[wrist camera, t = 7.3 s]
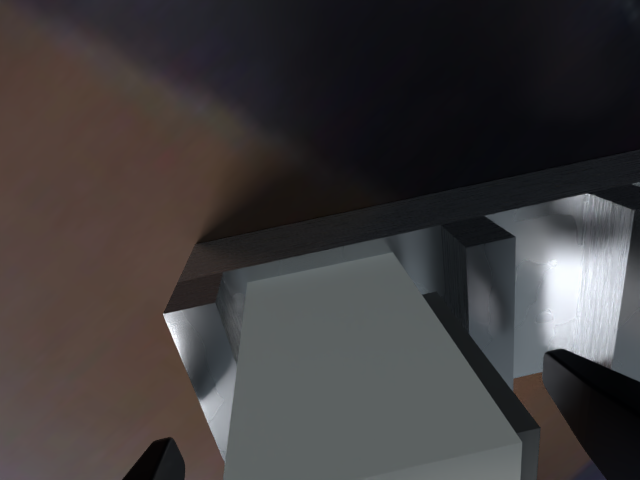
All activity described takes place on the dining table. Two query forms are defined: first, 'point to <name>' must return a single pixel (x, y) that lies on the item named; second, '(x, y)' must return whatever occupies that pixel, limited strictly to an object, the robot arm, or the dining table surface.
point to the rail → (449, 271)
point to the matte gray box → (368, 385)
